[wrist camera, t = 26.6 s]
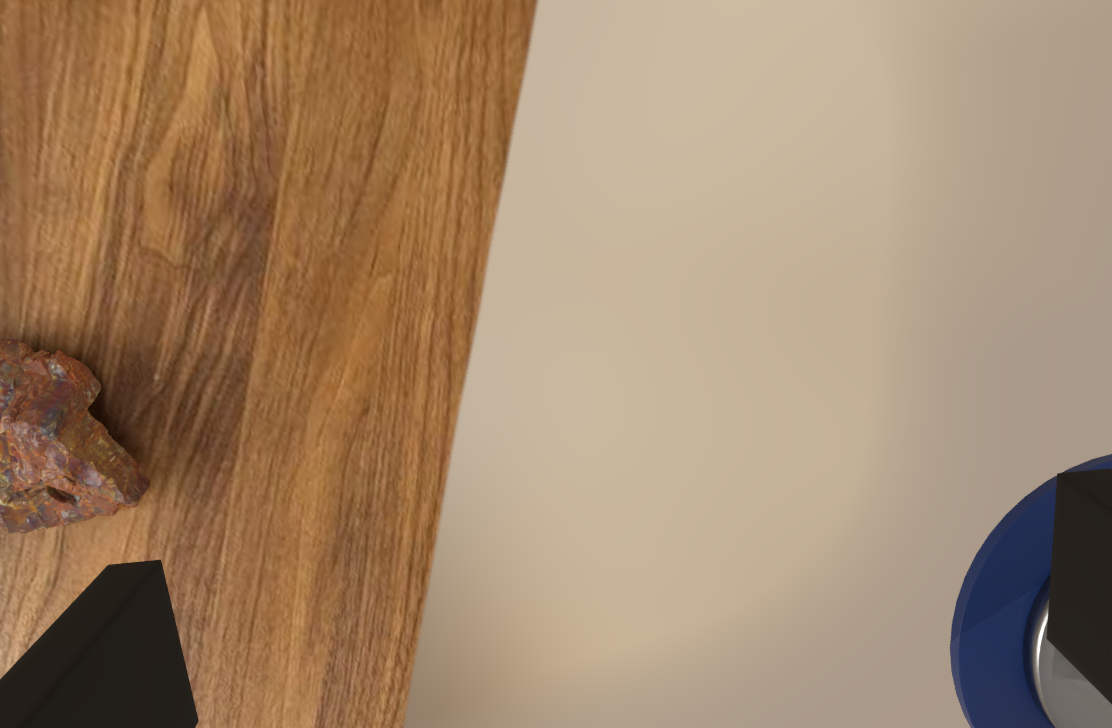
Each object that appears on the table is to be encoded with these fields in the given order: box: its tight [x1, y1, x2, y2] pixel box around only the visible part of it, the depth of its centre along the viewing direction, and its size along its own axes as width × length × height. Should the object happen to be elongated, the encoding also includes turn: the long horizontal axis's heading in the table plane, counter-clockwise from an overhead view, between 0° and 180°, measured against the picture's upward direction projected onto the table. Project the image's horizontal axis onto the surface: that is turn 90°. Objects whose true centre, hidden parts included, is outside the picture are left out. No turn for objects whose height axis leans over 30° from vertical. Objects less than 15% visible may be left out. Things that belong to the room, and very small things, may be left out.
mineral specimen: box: [0, 338, 151, 533], centre depth 44 cm, size 12×8×7 cm
